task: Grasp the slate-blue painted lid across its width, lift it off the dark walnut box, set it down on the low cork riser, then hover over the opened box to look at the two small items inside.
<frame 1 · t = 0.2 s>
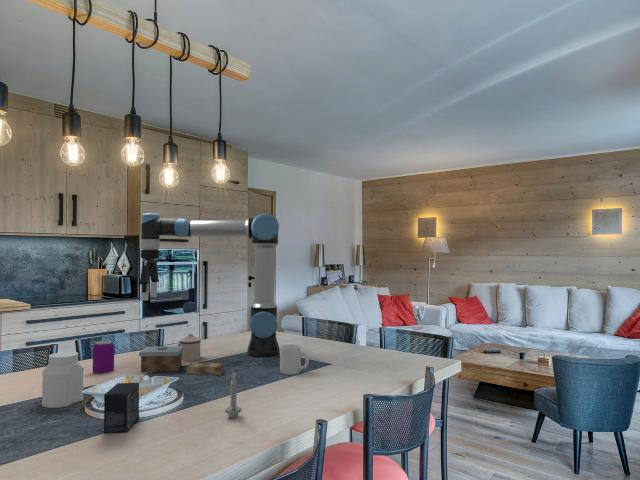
hand: (149, 298, 198), 27 cm above the table, fingers open, 13 cm apart
mug: (294, 373, 183), on the table
walnut box: (161, 370, 185), on the table
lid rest: (205, 373, 180), on the table
screw: (233, 417, 134), on the table
small box: (121, 426, 127), on the table
teacup with lid: (187, 360, 203), on the table
lid: (162, 353, 185), point 7 cm above the table, touching walnut box
jar: (62, 402, 146), on the table
beverage can: (103, 373, 181), on the table
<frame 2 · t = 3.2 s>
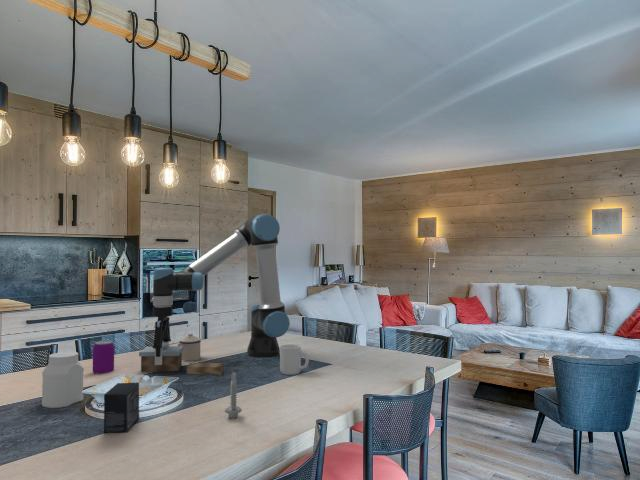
hand: (161, 361, 185), 4 cm above the table, fingers closed on lid, 10 cm apart
lid: (162, 353, 185), point 7 cm above the table, touching gripper, walnut box
everything else where it was.
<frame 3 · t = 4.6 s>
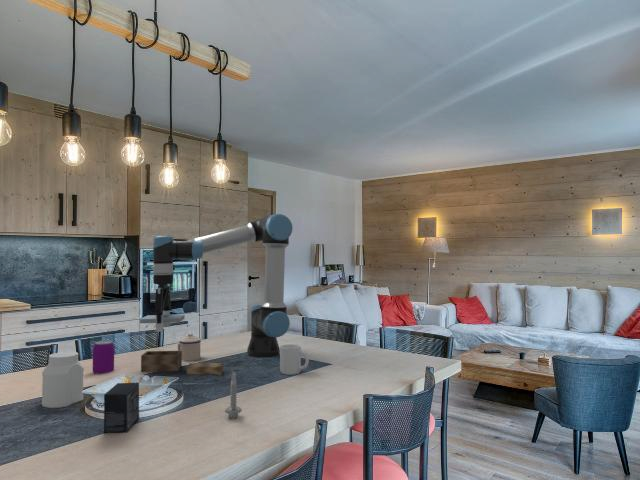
hand: (162, 329, 185), 17 cm above the table, fingers closed on lid, 10 cm apart
lid: (162, 320, 185), point 20 cm above the table, touching gripper
everything else where it was.
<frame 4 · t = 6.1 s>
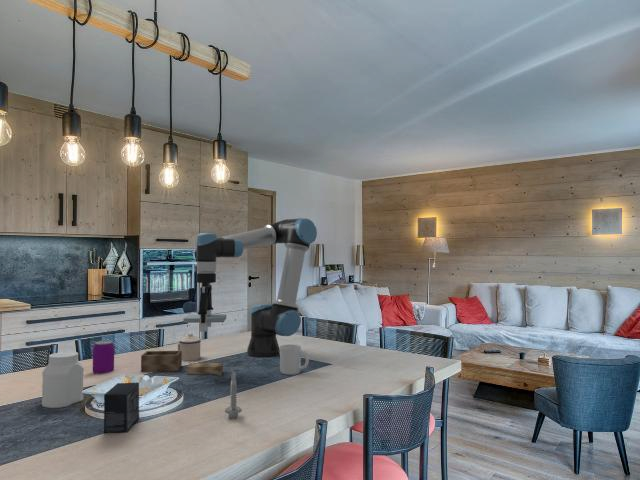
hand: (205, 328, 180), 18 cm above the table, fingers closed on lid, 10 cm apart
lid: (205, 320, 180), point 21 cm above the table, touching gripper
everything else where it was.
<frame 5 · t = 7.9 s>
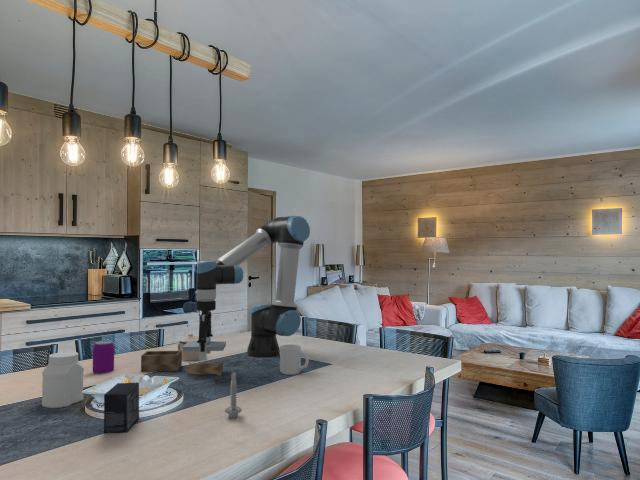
hand: (204, 356, 180), 7 cm above the table, fingers closed on lid, 10 cm apart
lid: (204, 348, 180), point 10 cm above the table, touching gripper
everything else where it was.
when the fingers open (2 cm above the table, at t = 9.5 s): lid drops 1 cm, resting on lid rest.
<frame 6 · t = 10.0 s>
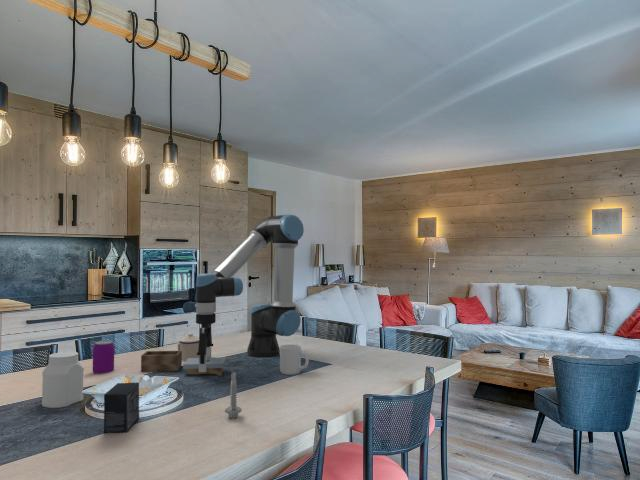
hand: (205, 367, 180), 3 cm above the table, fingers open, 13 cm apart
lid: (205, 364, 180), point 3 cm above the table, touching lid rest
everything else where it was.
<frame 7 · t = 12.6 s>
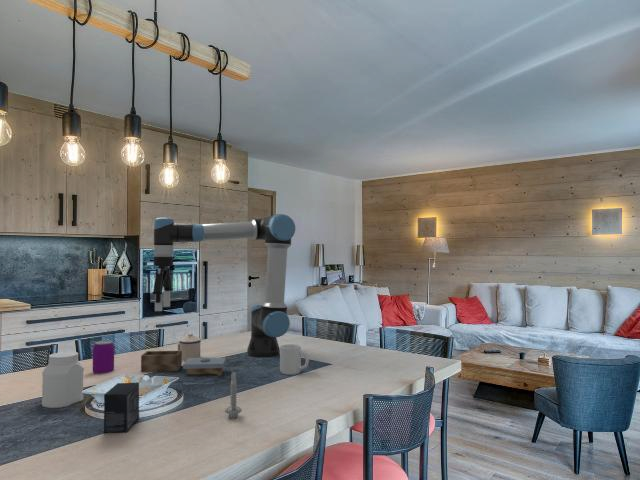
hand: (162, 308, 185), 25 cm above the table, fingers open, 13 cm apart
nothing on the table moved.
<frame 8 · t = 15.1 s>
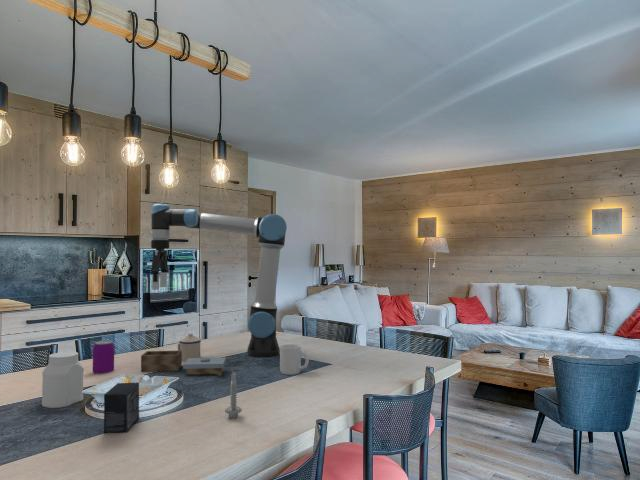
hand: (159, 288, 200), 32 cm above the table, fingers open, 13 cm apart
nothing on the table moved.
at the end: lid inside the target area on the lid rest (0.0 cm from its centre), point 3.5 cm above the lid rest's base; the gripper is holding nothing; lid tilted 0° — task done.
